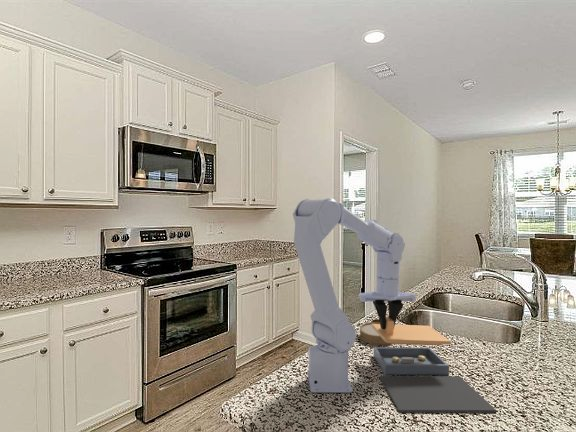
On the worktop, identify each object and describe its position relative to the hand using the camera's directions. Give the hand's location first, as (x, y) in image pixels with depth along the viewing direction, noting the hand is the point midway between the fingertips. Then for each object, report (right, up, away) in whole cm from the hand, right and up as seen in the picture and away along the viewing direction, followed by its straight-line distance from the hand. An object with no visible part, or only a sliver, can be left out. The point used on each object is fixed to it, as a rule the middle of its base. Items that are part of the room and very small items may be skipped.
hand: (387, 328), depth 89 cm
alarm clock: (+4, -10, +20) cm, 23 cm away
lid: (+6, -2, 0) cm, 6 cm away
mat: (+6, -10, -14) cm, 18 cm away
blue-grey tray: (+6, -10, 0) cm, 12 cm away
